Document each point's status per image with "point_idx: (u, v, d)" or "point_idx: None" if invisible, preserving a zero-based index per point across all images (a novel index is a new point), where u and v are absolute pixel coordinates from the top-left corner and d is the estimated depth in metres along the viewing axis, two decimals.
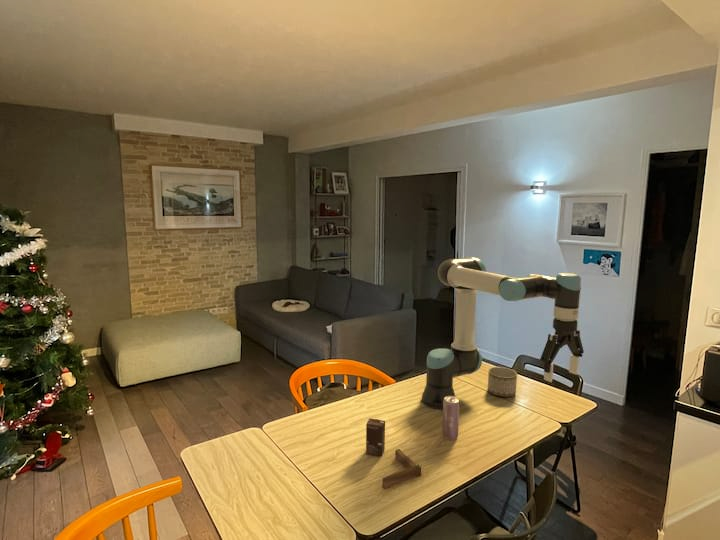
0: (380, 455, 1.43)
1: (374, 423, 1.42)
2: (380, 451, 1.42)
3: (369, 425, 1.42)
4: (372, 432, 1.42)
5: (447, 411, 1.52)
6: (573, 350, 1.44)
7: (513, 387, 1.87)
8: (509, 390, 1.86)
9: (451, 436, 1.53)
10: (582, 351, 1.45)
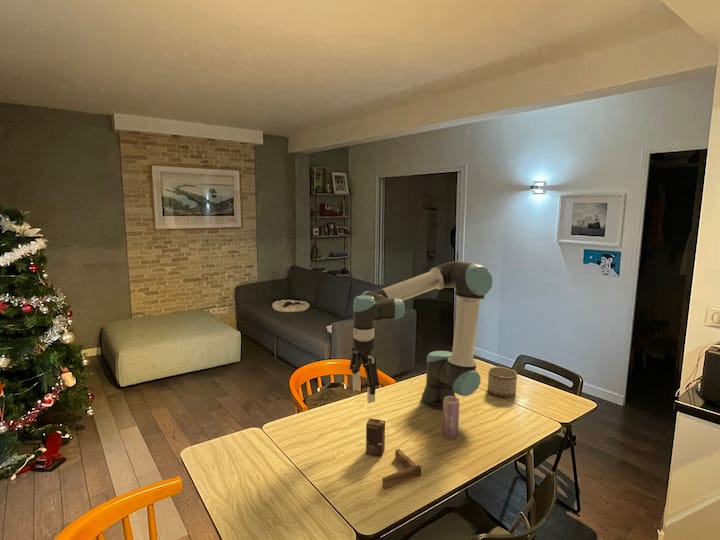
0: (380, 455, 1.43)
1: (374, 423, 1.42)
2: (380, 451, 1.42)
3: (369, 425, 1.42)
4: (372, 432, 1.42)
5: (447, 411, 1.52)
6: None
7: (513, 387, 1.87)
8: (509, 390, 1.86)
9: (451, 436, 1.53)
10: (372, 384, 1.41)
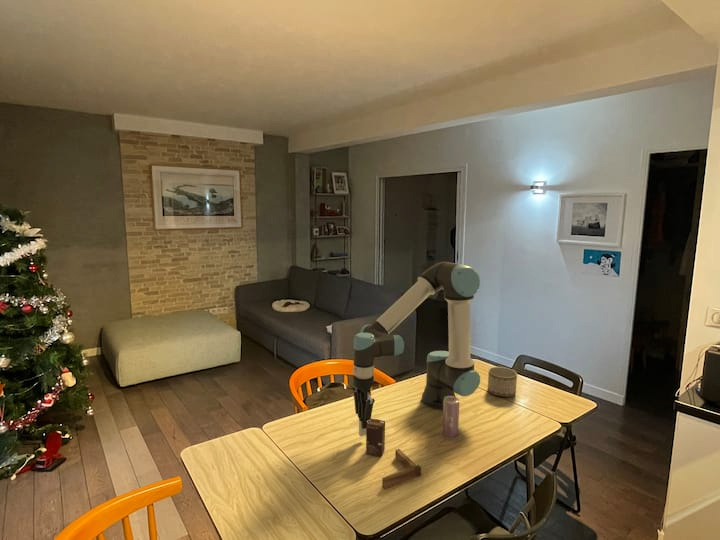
0: (380, 455, 1.43)
1: (374, 423, 1.42)
2: (380, 451, 1.42)
3: (369, 425, 1.42)
4: (372, 432, 1.42)
5: (447, 411, 1.52)
6: None
7: (513, 387, 1.87)
8: (509, 390, 1.86)
9: (451, 436, 1.53)
10: (364, 419, 1.48)
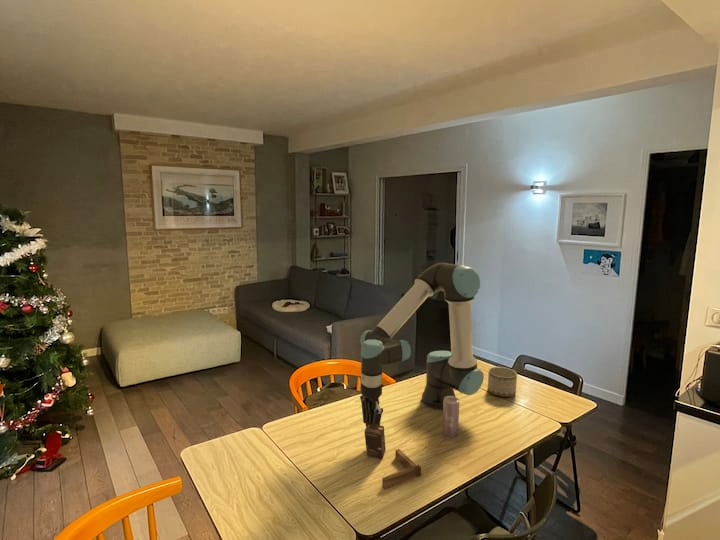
0: (381, 457, 1.41)
1: (372, 430, 1.38)
2: (380, 454, 1.41)
3: (367, 433, 1.38)
4: (371, 439, 1.39)
5: (447, 411, 1.52)
6: None
7: (513, 387, 1.87)
8: (509, 390, 1.86)
9: (451, 436, 1.53)
10: None
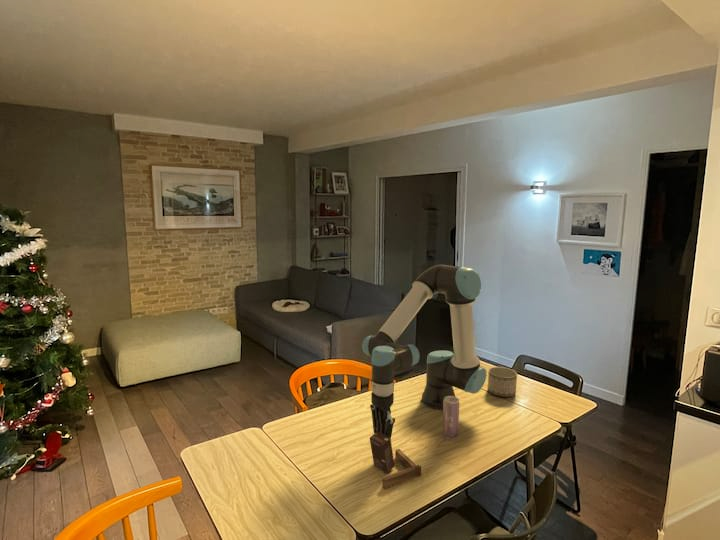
0: (385, 471, 1.34)
1: (377, 439, 1.33)
2: (385, 467, 1.33)
3: (372, 440, 1.33)
4: (375, 448, 1.33)
5: (447, 411, 1.52)
6: None
7: (513, 387, 1.87)
8: (509, 390, 1.86)
9: (451, 436, 1.53)
10: None
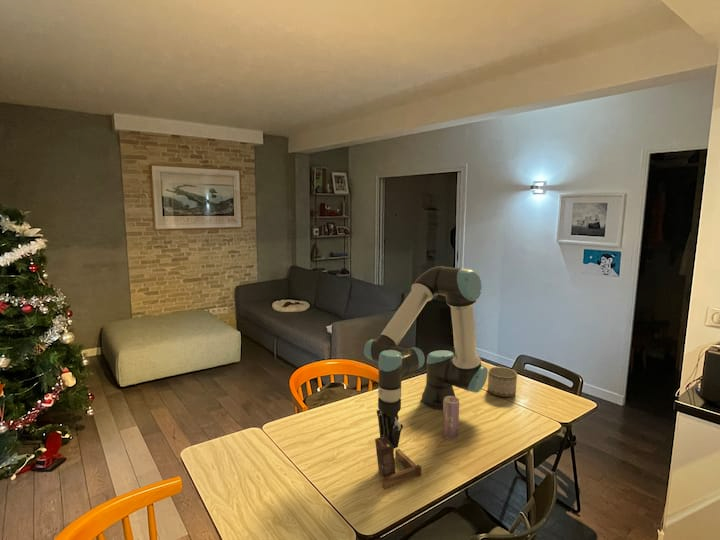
0: None
1: (380, 442, 1.31)
2: (383, 474, 1.30)
3: (376, 442, 1.32)
4: (378, 451, 1.32)
5: (447, 411, 1.52)
6: None
7: (513, 387, 1.87)
8: (509, 390, 1.86)
9: (451, 436, 1.53)
10: None
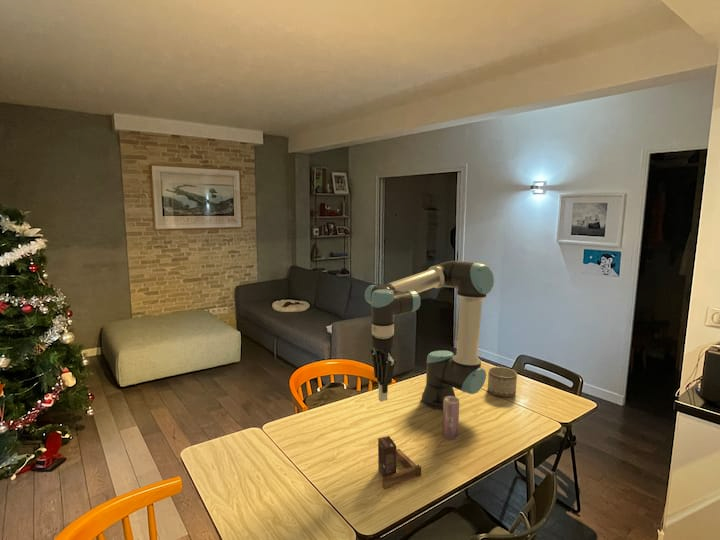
0: None
1: (384, 442, 1.31)
2: (384, 474, 1.30)
3: (379, 441, 1.32)
4: (380, 450, 1.32)
5: (447, 411, 1.52)
6: None
7: (513, 387, 1.87)
8: (509, 390, 1.86)
9: (451, 436, 1.53)
10: (384, 382, 1.37)
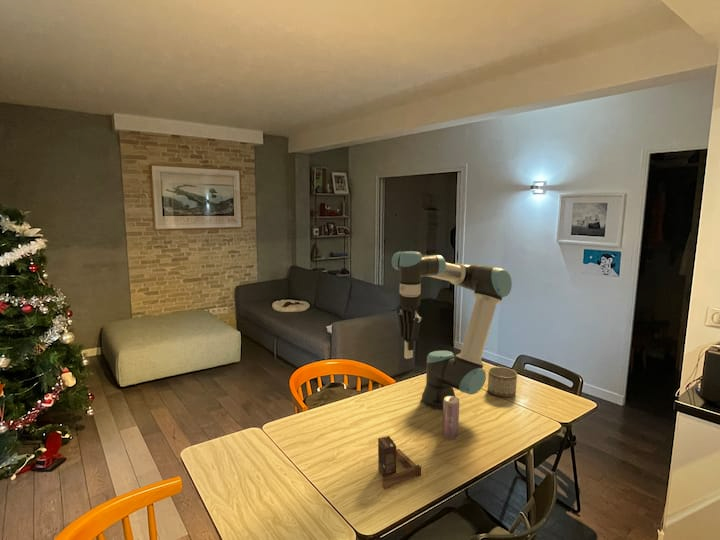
0: None
1: (384, 442, 1.31)
2: (384, 474, 1.30)
3: (379, 441, 1.32)
4: (380, 450, 1.32)
5: (447, 411, 1.52)
6: None
7: (513, 387, 1.87)
8: (509, 390, 1.86)
9: (451, 436, 1.53)
10: (411, 339, 1.45)
